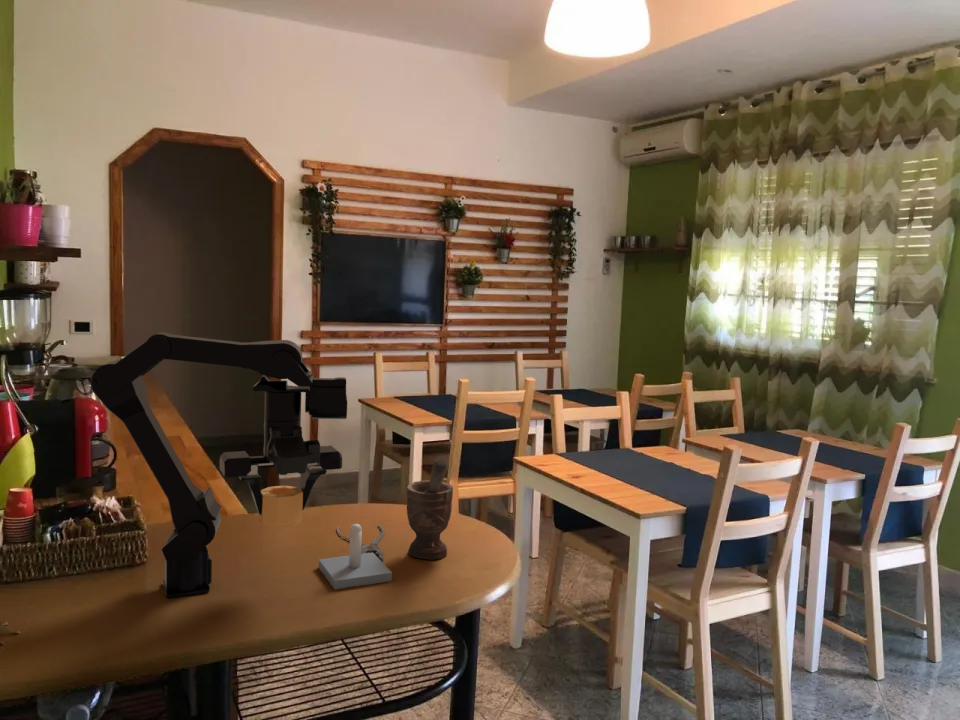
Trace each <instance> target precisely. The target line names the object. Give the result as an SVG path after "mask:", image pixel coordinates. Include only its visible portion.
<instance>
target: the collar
mask: <svg viewBox="0 0 960 720" xmlns="http://www.w3.org/2000/svg"><path fill="white" fill-rule="evenodd" d="M261 498H262V515H259V514H258V515H259V516H258V521H259V522H260V524H261V526H263V527H269V528H274V529H279V528H287V527H289V528H290V527H294V526H297V525H299V524H300V523H303V511H304V510H303V491H302V490H301V489H300V486H299V487H298V486H291V485H275V486H267V487H266V488H263V489H261Z"/></svg>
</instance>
